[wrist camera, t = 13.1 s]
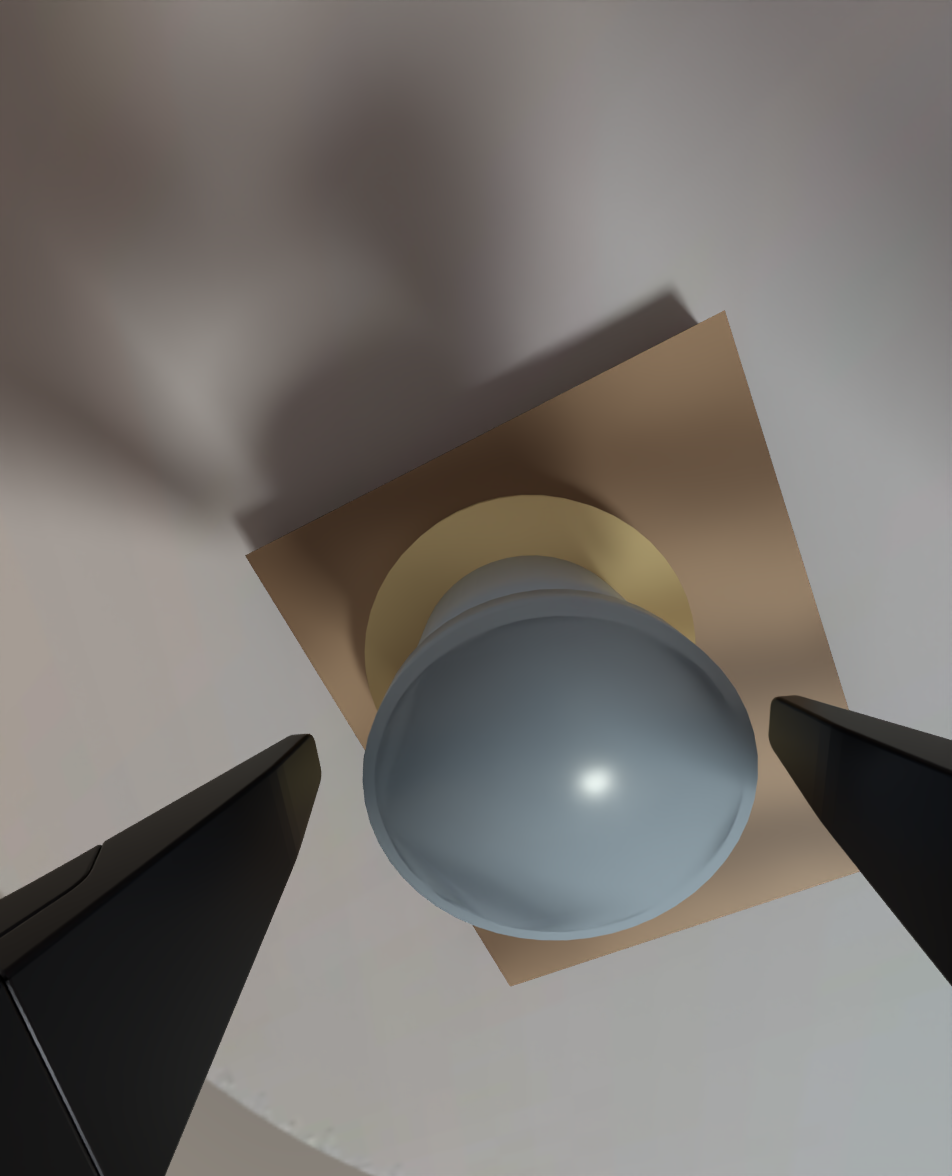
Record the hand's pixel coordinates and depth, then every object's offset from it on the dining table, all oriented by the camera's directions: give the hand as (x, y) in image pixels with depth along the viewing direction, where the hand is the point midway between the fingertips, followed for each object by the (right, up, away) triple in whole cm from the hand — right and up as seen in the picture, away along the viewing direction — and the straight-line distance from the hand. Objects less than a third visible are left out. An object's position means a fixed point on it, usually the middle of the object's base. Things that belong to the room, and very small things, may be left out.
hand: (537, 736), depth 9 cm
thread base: (+2, -1, +6) cm, 7 cm away
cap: (0, +1, +3) cm, 4 cm away
